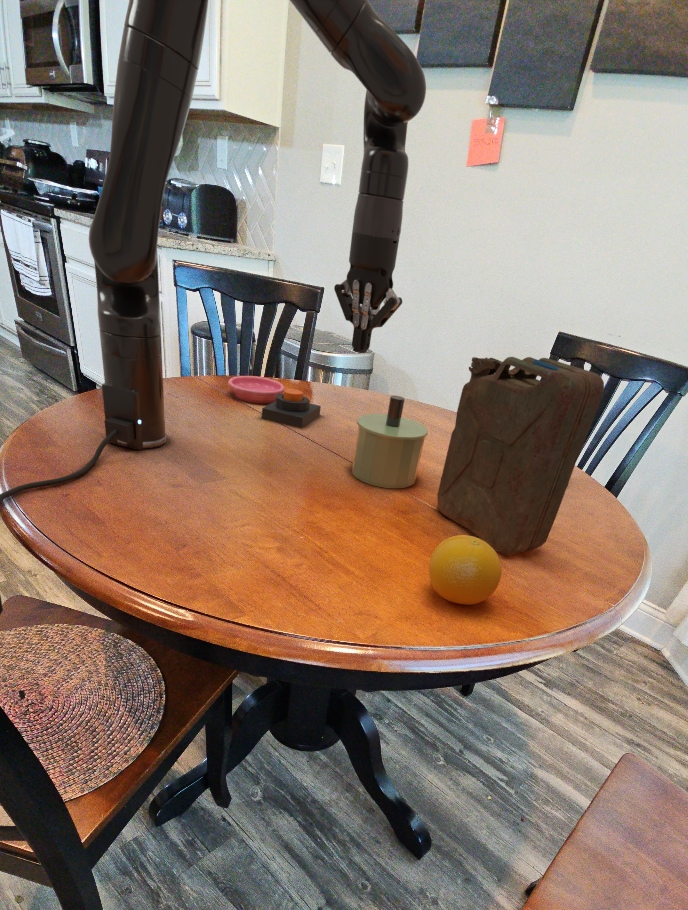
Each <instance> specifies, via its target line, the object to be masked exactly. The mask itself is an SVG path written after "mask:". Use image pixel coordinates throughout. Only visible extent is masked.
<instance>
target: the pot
mask: <svg viewBox="0 0 688 910" xmlns="http://www.w3.org/2000/svg"><path fill="white" fill-rule="evenodd" d="M425 438H426V437H424V438H422V439H418V440H397V439H391V438H385V437H381V436H378V435H374V434H372V433H369V432H367V431H365V430H363V429H362V428H360V427H359V426H358V425H357V431H356V439H355V444H354V451H353V460H352V465H351V468H352V469H351V472H352V475H353V476H354V477H355V478H356V479H358V480H359V481H361V482H362V483H366V484H368V485H371V486H374V487H379V488H386V489H405V488H409V487H410V486H412V485H414V484H415V483H416V479H417V475H418V470H419V466H420V461H421V457H422V452H423V449H424V448H423V447H424V443H425Z"/></svg>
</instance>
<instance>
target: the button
mask: <svg viewBox="0 0 688 910" xmlns="http://www.w3.org/2000/svg"><path fill="white" fill-rule="evenodd" d="M283 393H284V397H283V399H286V400H289V401H297V402H298V401H302V399H303V396H304V392H303V390H300V389H297V388H284V392H283Z"/></svg>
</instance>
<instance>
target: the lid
mask: <svg viewBox="0 0 688 910" xmlns="http://www.w3.org/2000/svg"><path fill="white" fill-rule="evenodd" d="M404 404H405V397H403V396H400V395H396V394H395V395H390V397H389V403H388V408H387V413H366V414H362V415H360V416H358V417H357V420H356V424H357V427H358V426H359V427H360V428H362V429H363V430H365V431H367V432H369V433H372V434H374V435H378V436H381V437H385V438H391V439H397V440H418V439H422V438H424V437H425V438H426V437H427V436H428V432H429V430H428V428H427V427H426V426H425V425H424V424H422V423H420V422H418V421H416V420H414V419H411V418H408V417H403V416H402V415H403V410H404V406H405V405H404Z"/></svg>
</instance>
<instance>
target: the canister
mask: <svg viewBox="0 0 688 910" xmlns="http://www.w3.org/2000/svg"><path fill="white" fill-rule="evenodd" d="M511 367H513V368H511ZM468 370H469V372H470V379H469V381H467V382H466V383H465V384H464V385H463V387H462V389H461V394H460V398H459V402H458V406H457V410H456V416H455V425H454V428H453V430H452V432H451V435H450V439H449V444H448V448H447V451H446V456H445V461H444V464H443V469H442V473H441V474H442V475H441V477H440V482H439V485H438V490H437V496H436V497H437V507H438V509H439V511H440V513H441V514H442V515H443V516H445V517H447V518H449V519H450V520H452V521H453V522H455V523H456V524H458V525H460V526H461V527H462V528H463V527H464V528H465V529H467V530H469V531H470V532H471V533H473V534H474V535H475V536H477V538H479V539H481V540H483V541H484V542H486V543H487V544H488V545H490V546H491V547H492V548H493V549H494V551H495V552H498V553H500V554H503V555H506V556H507V555H508V556H511V555H515V554H520V553H521V554H522V553H526V552H531V551H534V550H536V549H538V548H541V547H542V546H543V545H544V544H545V543H547V540H548V538H549V535H550V533H551V531H552V528H553V525H554V522H555V520H556V518H557V516H558V514H559V510H560V507H561V504H562V502H563V499H564V496H565V494H566V491H567V488H568V486H569V483H570V481H571V478H572V475H573V472H574V469H575V466H576V463H577V461H578V459H579V456H580V453H581V451H582V449H583V448H584V444H585V442H586V439H587V436H588V434H589V431H590V429H591V427H592V423H593V421H594V419H595V416H596V413H597V411H598V408H599V406H600V403H601V400H602V398H603V395H604V390H605V382H604V380H603V377H601V376H600V375H599V374H598V373H596V372H593V371H590V370H587V369H585V368H581V367H577V366H573V365H570V364H567V363H565V362H560V361H557V360H554V359H551V358H548V357H541V358H539V359H537V358H534V357H531V356H527V357H524V358H522V359H521V358H518V357H515V356H508V357H505V359H504V360H503V361H501V360H499V359H497V358H493V357H489V358H488V357H483V358H481V357H477V356H473V357H471V363H470V366H469V367H468ZM538 377H539V378H542V380H540V379H537V378H538Z"/></svg>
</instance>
